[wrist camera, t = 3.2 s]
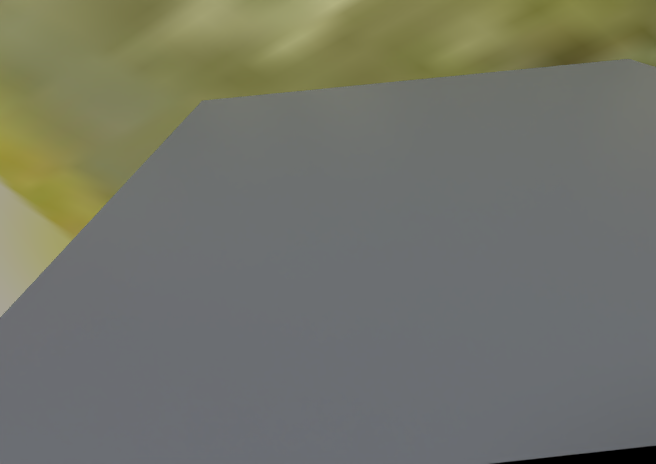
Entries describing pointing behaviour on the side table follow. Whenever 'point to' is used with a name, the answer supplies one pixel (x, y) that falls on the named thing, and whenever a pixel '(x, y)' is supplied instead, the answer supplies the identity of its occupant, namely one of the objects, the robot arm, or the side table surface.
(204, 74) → the side table surface
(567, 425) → the grey block
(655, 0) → the side table surface
